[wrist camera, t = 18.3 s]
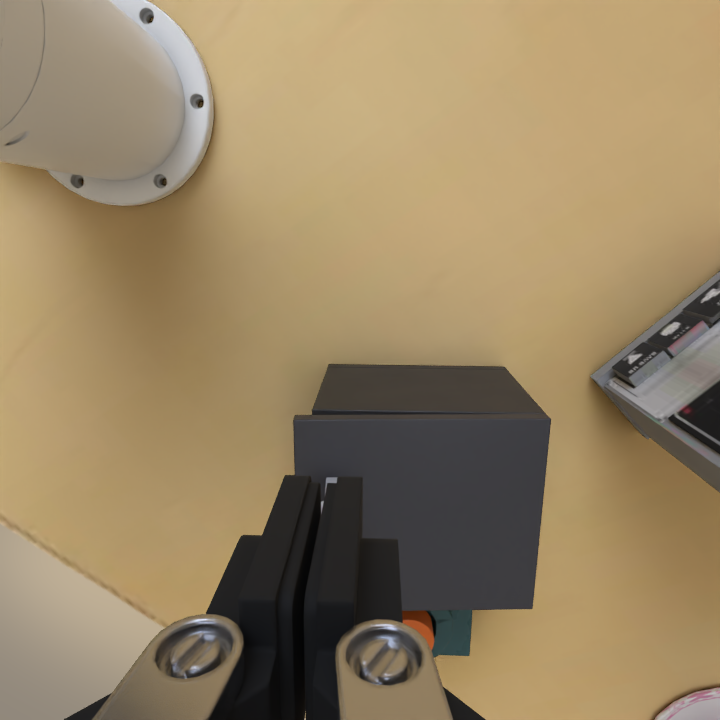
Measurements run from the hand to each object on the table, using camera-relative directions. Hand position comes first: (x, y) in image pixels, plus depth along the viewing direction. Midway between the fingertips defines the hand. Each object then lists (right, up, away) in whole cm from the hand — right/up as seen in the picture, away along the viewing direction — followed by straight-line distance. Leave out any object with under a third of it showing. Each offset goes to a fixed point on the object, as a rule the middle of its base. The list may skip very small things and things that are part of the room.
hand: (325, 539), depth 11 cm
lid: (+4, -5, +18) cm, 19 cm away
